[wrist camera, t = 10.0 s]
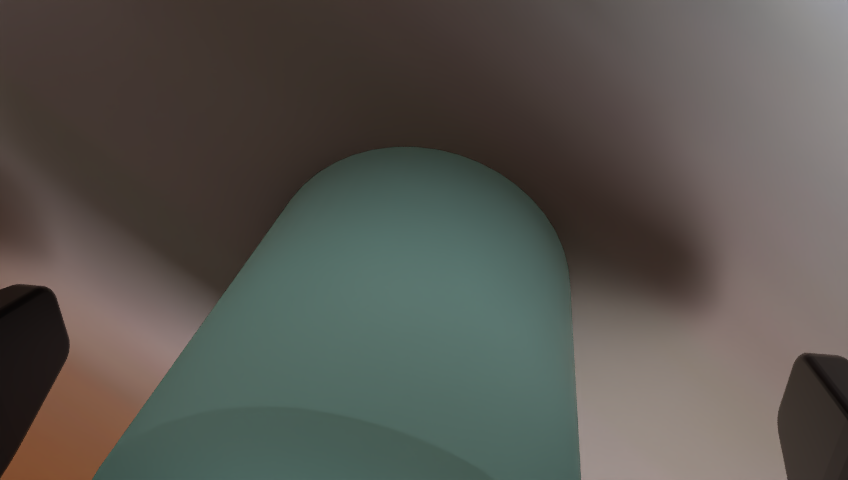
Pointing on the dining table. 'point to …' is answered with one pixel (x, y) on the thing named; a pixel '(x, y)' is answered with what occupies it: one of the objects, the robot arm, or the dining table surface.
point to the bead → (378, 340)
